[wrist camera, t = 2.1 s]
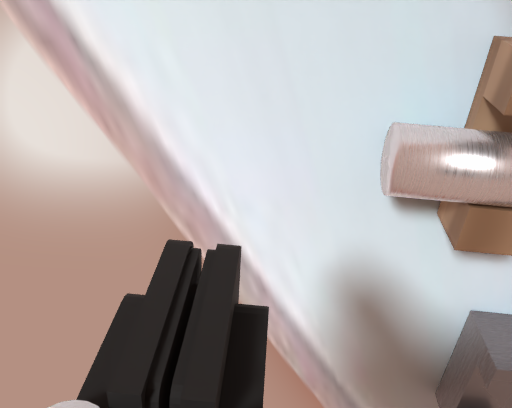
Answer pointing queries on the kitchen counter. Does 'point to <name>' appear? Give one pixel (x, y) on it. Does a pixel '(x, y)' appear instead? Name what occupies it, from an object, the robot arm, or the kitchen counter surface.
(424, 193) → the steel axle
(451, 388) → the V-block
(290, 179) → the kitchen counter surface
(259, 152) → the kitchen counter surface
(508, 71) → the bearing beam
